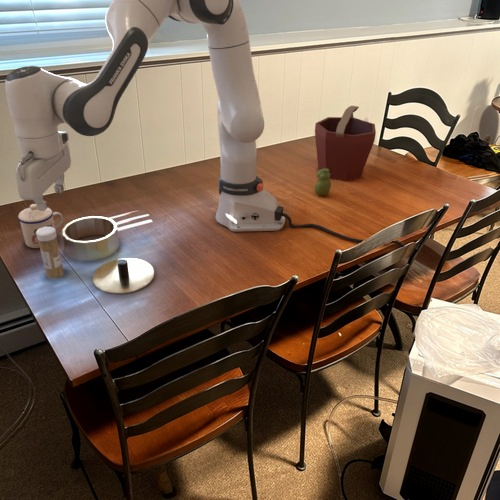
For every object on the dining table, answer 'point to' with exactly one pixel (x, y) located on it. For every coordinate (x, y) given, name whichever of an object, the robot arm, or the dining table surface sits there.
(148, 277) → the pan lid
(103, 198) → the dining table surface
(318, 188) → the green figurine
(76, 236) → the pan
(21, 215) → the teacup with lid
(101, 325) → the dining table surface
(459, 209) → the dining table surface
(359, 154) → the bucket
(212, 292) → the dining table surface
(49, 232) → the sprinkles bottle
